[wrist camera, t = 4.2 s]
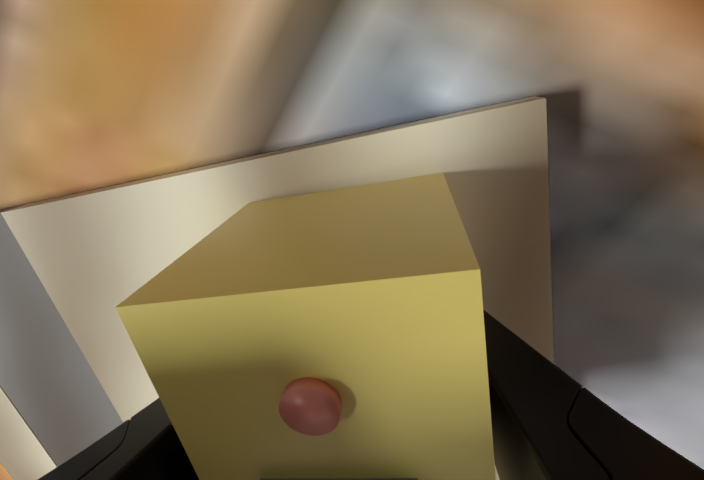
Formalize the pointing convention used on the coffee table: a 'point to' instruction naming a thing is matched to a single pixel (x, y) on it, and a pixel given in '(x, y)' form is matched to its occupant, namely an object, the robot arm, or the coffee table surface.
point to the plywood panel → (205, 216)
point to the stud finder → (325, 340)
